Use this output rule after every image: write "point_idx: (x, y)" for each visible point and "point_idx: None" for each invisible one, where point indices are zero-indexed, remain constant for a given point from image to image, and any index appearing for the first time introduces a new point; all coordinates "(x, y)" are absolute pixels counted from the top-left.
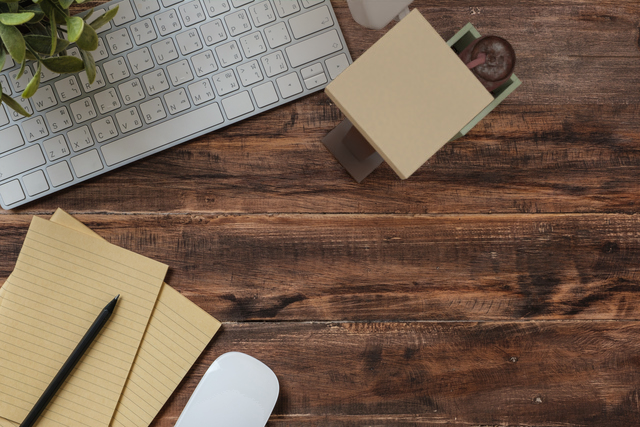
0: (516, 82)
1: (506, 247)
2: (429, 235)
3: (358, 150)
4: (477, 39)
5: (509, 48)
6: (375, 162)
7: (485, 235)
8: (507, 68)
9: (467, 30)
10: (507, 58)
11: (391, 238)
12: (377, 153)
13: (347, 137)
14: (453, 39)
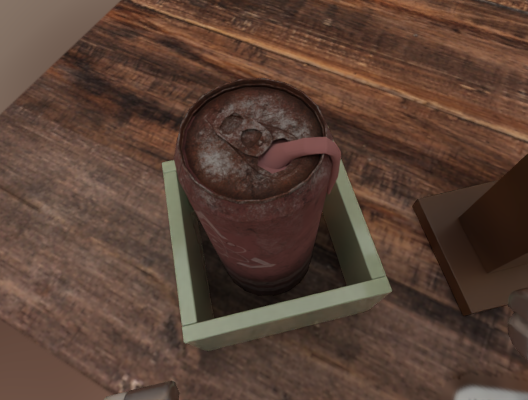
0: (171, 167)
1: (305, 22)
2: (411, 71)
3: None
4: (261, 211)
5: (186, 145)
6: (480, 192)
7: (327, 43)
8: (224, 104)
9: (201, 323)
10: (208, 125)
11: (475, 89)
12: (470, 205)
13: None
14: (246, 319)
